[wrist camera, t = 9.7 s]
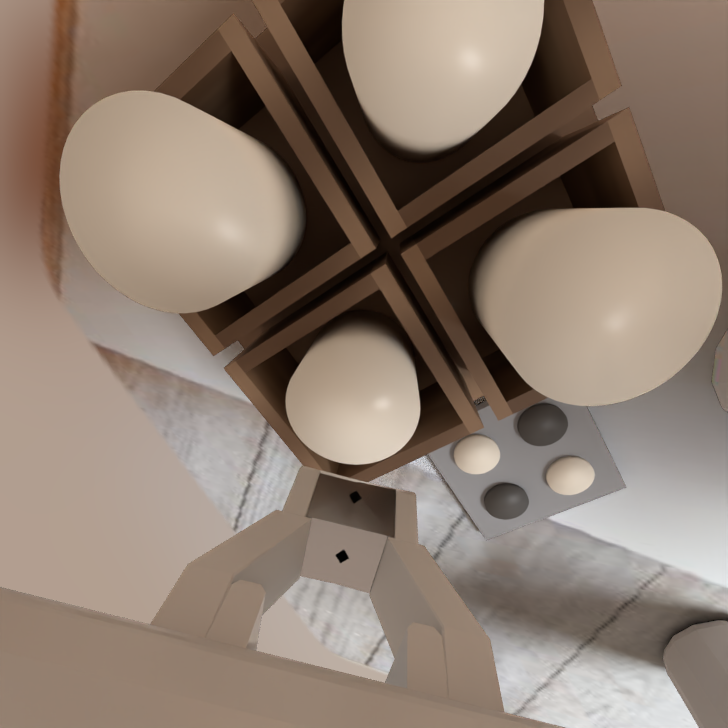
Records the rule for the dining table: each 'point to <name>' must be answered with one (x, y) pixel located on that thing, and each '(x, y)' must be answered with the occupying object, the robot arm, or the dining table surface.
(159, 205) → the button
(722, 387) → the french press
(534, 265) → the button
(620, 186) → the button board
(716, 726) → the water bottle
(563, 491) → the pattern card
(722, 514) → the dining table surface
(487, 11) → the button
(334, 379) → the button
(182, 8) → the dining table surface
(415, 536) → the robot arm
